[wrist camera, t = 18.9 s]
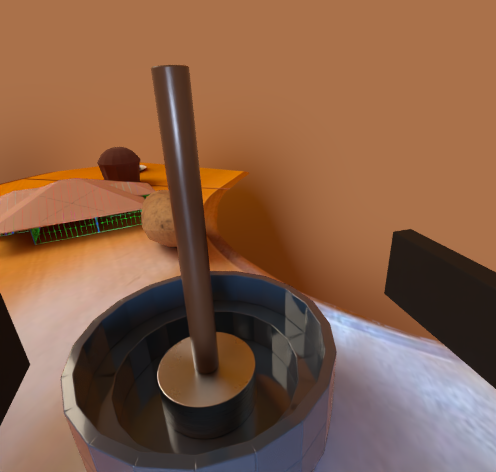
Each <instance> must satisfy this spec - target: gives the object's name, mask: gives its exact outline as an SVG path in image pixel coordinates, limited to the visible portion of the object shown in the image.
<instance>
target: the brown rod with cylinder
mask: <svg viewBox="0 0 496 472" xmlns="http://www.w3.org/2000/svg"><path fill="white" fill-rule="evenodd" d="M151 71H152V78H153V85H154V92H155V99H156V106H157V113H158V120H159V127H160V134H161V141H162V147H163V154H164V161H165V168H166V175H167V182H168V189H169V196H170V203H171V210H172V216H173V223H174V230H175V237H176V244H177V251H178V258H179V265H180V272H181V279H182V286H183V292H184V299H185V306H186V313H187V320H188V327H189V334H190V337H187V338H185V339H183V340H181V341H180V342H178V343H177V344H175V345H174V346H173V347H172V348H171V349H169V350H168V352H167V353H166V354H165V355H164V357H163V358H162V360H161V362H160V364H159V367H158V371H157V381H158V386H159V390H160V395H161V400H162V405H163V410H164V414H165V417H166V419H167V421H168V422H169V424H170V425H171V426H172V427H173V428H174V429H175V430H176V431H178V432H179V433H181V434H183V435H185V436H188V437H192V438H197V439H210V438H216V437H219V436H223V435H225V434H227V433H229V432H231V431H233V430H235V429H236V428H237V427H239V426H240V425H241V424H242V423H243V422H244V421H245V420H246V419H247V418H248V416H249V415H250V413H251V412H252V410H253V408H254V405H255V402H256V396H257V389H256V367H255V357H254V354H253V352H252V350H251V348H250V347H249V346H248V345H247V344H246V343H245V342H244V341H243V340H241V339H240V338H238V337H236V336H234V335H231V334H228V333H222V332H216V326H215V316H214V306H213V296H212V287H211V277H210V267H209V258H208V248H207V238H206V229H205V219H204V209H203V199H202V190H201V180H200V170H199V161H198V151H197V141H196V132H195V122H194V112H193V103H192V93H191V83H190V73H189V67H188V66H184V65H164V66H154V67H152V68H151Z"/></svg>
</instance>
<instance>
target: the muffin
mask: <svg viewBox="0 0 496 472" xmlns="http://www.w3.org/2000/svg"><path fill="white" fill-rule="evenodd" d="M139 162H140V158H139V157H138V156H137V155H136V154H135V153H134V152H133V151H131V150H129V149H127V148H124V147H115V148H110V149H108V150H106V151H105V152H104V153H103V154H102V155H101V157H100V158H99V160H98V165H99V167H100V170H101V172H102V175H103V177H104V180H108V181H122V182H140V168H139Z"/></svg>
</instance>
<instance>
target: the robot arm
mask: <svg viewBox="0 0 496 472" xmlns="http://www.w3.org/2000/svg"><path fill="white" fill-rule="evenodd" d="M384 293H385V295H387V296H388V297H389V298H390V299H391V300H392V301H394V302H395V303H396V304H397V305H398V306H399V307H401V308H402V309H403V310H404V311H405V312H407V313H408V314H409V315H410V316H411V317H412V318H413V319H415V320H416V321H417V322H418V323H419V324H421V325H422V326H423V327H424V328H425V329H426V330H427V331H429V332H430V333H431V334H432V335H433V336H435V337H436V338H437V339H438V340H439V341H440V342H442V343H443V344H444V345H445V346H446V347H447V348H449V349H450V350H451V351H452V352H453V353H454V354H456V355H457V356H458V357H459V358H460V359H461V360H463V361H464V362H465V363H466V364H467V365H468V366H470V367H471V368H472V369H473V370H474V371H475V372H477V373H478V374H479V375H480V376H481V377H482V378H484V379H485V380H486V381H487V382H488V383H489V384H491V385H492V386H493V387H494V388H495V389H496V272H494V271H492V270H490V269H488V268H486V267H484V266H482V265H480V264H478V263H476V262H474V261H472V260H471V259H469V258H467V257H465V256H463V255H460V254H459V253H457V252H455V251H453V250H451V249H449V248H447V247H445V246H443V245H441V244H439V243H437V242H435V241H433V240H431V239H429V238H427V237H425V236H423V235H421V234H419V233H417V232H416V231H414V230H411V229H409V230H402V231H396V232H393V238H392V245H391V251H390V259H389V266H388V272H387V279H386V285H385V292H384ZM29 366H30V363H29V360H28V358H27V356H26V353H25V351H24V348H23V346H22V344H21V341H20V339H19V336H18V334H17V332H16V329H15V327H14V324H13V322H12V320H11V317H10V315H9V312H8V310H7V308H6V305H5V303H4V300H3V298H2V296H1V293H0V425H1V423H2V421H3V419H4V417H5V415H6V413H7V411H8V409H9V407H10V405H11V403H12V401H13V399H14V397H15V395H16V393H17V391H18V388H19V386H20V384H21V382H22V380H23V378H24V376H25V374H26V372H27V370H28V368H29Z"/></svg>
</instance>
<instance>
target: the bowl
mask: <svg viewBox="0 0 496 472" xmlns="http://www.w3.org/2000/svg"><path fill="white" fill-rule="evenodd" d="M210 277H211V287H212V296H213V306H214V316H215V326H216V332H222V333H228V334H231V335H234V336H236V337H238V338H240V339H241V340H243V341H244V342H245V343H246V344H247V345H248V346H249V347H250V348H251V350H252V352H253V354H254V357H255V367H256V389H257V396H256V402H255V405H254V408H253V410H252V412H251V413H250V415H249V416H248V418H247V419H246V420H245V421H244V422H243V423H242V424H241V425H240V426H239V427H237V428H236V429H235V430H233V431H231V432H229V433H227V434H225V435H223V436H219V437H216V438H210V439H197V438H192V437H188V436H185V435H183V434H181V433H179V432H178V431H176V430H175V429H174V428H173V427H172V426H171V425H170V424H169V422H168V421H167V419H166V417H165V414H164V410H163V405H162V400H161V395H160V390H159V386H158V381H157V371H158V367H159V364H160V362H161V360H162V358H163V357H164V355H165V354H166V353H167V352H168V350H169V349H171V348H172V347H173V346H174V345H175V344H177V343H178V342H180V341H181V340H183V339H185V338H187V337H190V334H189V327H188V320H187V313H186V306H185V299H184V292H183V286H182V279H181V276H177V277H173V278H170V279H167V280H164V281H161V282H158V283H154V284H151V285H149V286H146V287H144V288H142V289H140V290H138V291H137V292H135V293H133V294H131V295H129V296H127V297H125V298H123V299H121V300H119V301H118V302H117V303H115V304H114V305H113V306H111V307H110V308H109V309H107V310H106V311H105V312H103V313H102V314H101V315H100V316H98V317H97V318H96V319H94V320H93V321H92V323H91V324H90V325H89V326H88V328H87V329H86V330H85V331H84V332H83V334H82V335H81V336H80V337H79V339H78V340H77V341H76V342H75V344H74V345H73V347H72V349H71V352H70V354H69V357H68V360H67V362H66V365H65V368H64V370H63V373H62V376H61V388H62V398H63V409H64V414H65V417H66V420H67V422H68V425H69V427H70V430H71V432H72V435H73V438H74V440H75V443H76V445H77V448H78V450H79V453H80V456H81V458H82V461H83V463H84V466H85V468H86V471H87V472H312V471H313V470H314V468H315V466H316V465H317V463H318V461H319V460H320V458H321V456H322V455H323V453H324V450H325V445H326V440H327V435H328V429H329V424H330V419H331V411H332V400H333V388H334V376H335V365H336V353H337V352H336V347H335V343H334V339H333V335H332V331H331V327H330V324H329V322H328V321H327V319H326V318H325V317H324V315H323V314H322V313H321V311H320V310H319V309H318V307H317V306H316V305H315V303H314V302H313V301H312V300H310V299H309V298H307V297H306V296H305V295H303V294H302V293H300V292H299V291H297V290H296V289H295V288H293V287H292V286H290V285H287V284H285V283H282V282H279V281H277V280H274V279H272V278H269V277H266V276H261V275H256V274H250V273H244V272H237V271H210Z"/></svg>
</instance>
